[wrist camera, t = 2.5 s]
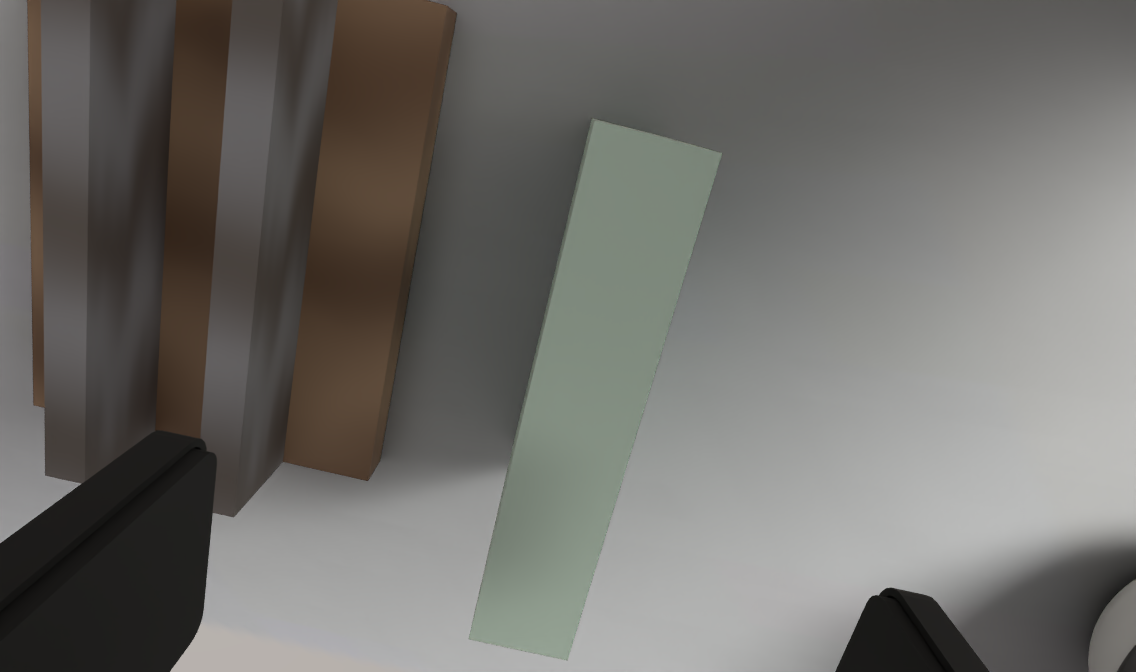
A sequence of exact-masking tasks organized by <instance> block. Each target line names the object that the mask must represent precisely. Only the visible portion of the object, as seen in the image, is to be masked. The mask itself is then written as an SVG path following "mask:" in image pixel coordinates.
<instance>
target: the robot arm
mask: <svg viewBox="0 0 1136 672" xmlns="http://www.w3.org/2000/svg"><path fill="white" fill-rule="evenodd" d="M216 470H217V457H216V455H215V454H214V453H213V452H208V451H207V447H206V444H205V442H204V441H203V440H202V439H200V438H195V437H191V436H186V435H181V434H177V433H172V432H167V431H163V430H156V431H154V432H152V433H151V434H149V435H148V436H146V437H145V438H144V439H142V440H141V441H140V442H138V443H137V444H136V445H134V446H133V447H131V448H130V449H129V450H127V451H126V452H125V453H123V454H122V455H120V456H119V457H118V458H116V459H115V460H114V461H112V462H111V463H110V464H108V465H107V466H105V467H104V468H103V469H101V470H100V471H99V472H97V473H96V474H94V475H93V476H92V477H90V478H89V479H88V480H86V481H85V482H84V483H82V484H81V485H79V486H78V487H77V488H75V489H74V490H73V491H71V492H70V493H68V494H67V495H66V496H64V497H63V498H62V499H60V500H59V501H58V502H56V503H55V504H53V505H52V506H51V507H49V508H48V509H47V510H45V511H44V512H42V513H41V514H40V515H38V516H37V517H36V518H34V519H33V520H32V521H30V522H29V523H27V524H26V525H25V526H23V527H22V528H21V529H19V530H18V531H17V532H15V533H14V534H12V535H11V536H10V537H8V538H7V539H6V540H4V541H3V542H1V543H0V672H170V671H171V669H172V668H173V666H174V665H175V664H176V662H177V661H178V660H179V658H180V657H181V655H182V654H183V653H184V651H185V650H186V649H187V647H188V646H189V645H190V643H191V642H192V640H193V639H194V637H195V635H196V633H197V631H198V628H199V626H200V623H201V620H202V616H203V610H204V599H205V588H206V578H207V567H208V556H209V545H210V535H211V524H212V513H213V502H214V491H215V481H216ZM835 672H989V670H988V669H987V668H986V667H985V665H984V664H983V663H982V661H981V660H980V659H979V657H978V656H977V655H976V653H975V652H974V651H973V649H972V648H971V647H970V645H969V644H968V643H967V642H966V640H965V639H964V638H963V636H962V635H961V634H960V632H959V631H958V630H957V628H956V627H955V626H954V624H953V623H952V622H951V620H950V619H949V618H948V617H947V615H946V614H945V613H944V611H943V610H942V609H941V607H940V606H939V605H938V603H937V602H936V601H935V600H934V599H933V598H932V597H929V596H927V595H923V594H918V593H913V592H909V591H904V590H899V589H895V588H887V589H885V590H883V591H882V592H881V593H880V595H879V596H878V595H875V596H872V597H871V598H870V599H869V600H868V602H867V603H866V606H865V608H864V610H863V612H862V614H861V617H860V619H859V621H858V623H857V625H856V628H855V630H854V632H853V634H852V636H851V639H850V641H849V643H848V645H847V647H846V650H845V652H844V654H843V656H842V658H841V660H840V663H839V665H838V667H837V669H836V671H835Z"/></svg>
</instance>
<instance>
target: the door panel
mask: <svg viewBox="0 0 1136 672" xmlns="http://www.w3.org/2000/svg"><path fill="white" fill-rule="evenodd" d="M721 156H722V153H720V152H717V151H713V150H710V149H706V148H702V147H699V146H695V145H692V144H688V143H685V142H681V141H678V140H674V139H671V138H667V137H664V136H660V135H656V134H652V133H648V132H644V131H640V130H636V129H632V128H629V127H625V126H621V125H617V124H613V123H609V122H605V121H601V120H597V119H593V118H592V120H591V124H590V128H589V132H588V136H587V140H586V144H585V149H584V153H583V157H582V161H581V165H580V169H579V173H578V178H577V182H576V186H575V190H574V194H573V198H572V202H571V207H570V211H569V215H568V219H567V223H566V227H565V231H564V236H563V240H562V244H561V248H560V252H559V256H558V260H557V265H556V269H555V273H554V277H553V281H552V285H551V289H550V294H549V298H548V302H547V306H546V310H545V314H544V318H543V323H542V327H541V331H540V335H539V339H538V343H537V347H536V352H535V356H534V360H533V364H532V368H531V372H530V376H529V381H528V385H527V389H526V393H525V397H524V401H523V405H522V410H521V414H520V418H519V422H518V426H517V430H516V435H515V439H514V443H513V447H512V452H511V456H510V460H509V465H508V469H507V473H506V478H505V482H504V487H503V491H502V495H501V500H500V504H499V508H498V513H497V517H496V522H495V526H494V530H493V535H492V539H491V544H490V548H489V552H488V557H487V561H486V565H485V570H484V574H483V579H482V583H481V587H480V592H479V596H478V600H477V605H476V609H475V614H474V618H473V622H472V627H471V631H470V636H469V639H470V640H474V641H479V642H484V643H488V644H493V645H498V646H502V647H507V648H512V649H516V650H521V651H525V652H530V653H535V654H539V655H544V656H549V657H553V658H558V659H563V660H568V657H569V654H570V650H571V647H572V644H573V640H574V637H575V634H576V631H577V627H578V624H579V621H580V618H581V614H582V611H583V608H584V604H585V601H586V598H587V595H588V591H589V588H590V585H591V582H592V578H593V575H594V572H595V569H596V565H597V562H598V559H599V555H600V552H601V549H602V546H603V542H604V539H605V536H606V533H607V529H608V526H609V523H610V519H611V516H612V513H613V510H614V506H615V503H616V500H617V497H618V493H619V490H620V487H621V483H622V480H623V477H624V474H625V470H626V467H627V464H628V461H629V457H630V454H631V451H632V447H633V444H634V441H635V438H636V434H637V431H638V428H639V425H640V421H641V418H642V415H643V412H644V408H645V405H646V402H647V398H648V395H649V392H650V389H651V385H652V382H653V379H654V376H655V372H656V369H657V366H658V362H659V359H660V356H661V353H662V349H663V346H664V343H665V340H666V336H667V333H668V330H669V326H670V323H671V320H672V317H673V313H674V310H675V307H676V304H677V300H678V297H679V294H680V290H681V287H682V284H683V281H684V277H685V274H686V271H687V268H688V264H689V261H690V258H691V255H692V251H693V248H694V245H695V241H696V238H697V235H698V232H699V228H700V225H701V222H702V219H703V215H704V212H705V209H706V205H707V202H708V199H709V196H710V192H711V189H712V186H713V183H714V179H715V176H716V173H717V169H718V166H719V163H720V160H721Z"/></svg>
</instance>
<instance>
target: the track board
mask: <svg viewBox="0 0 1136 672" xmlns="http://www.w3.org/2000/svg"><path fill="white" fill-rule="evenodd" d="M27 6H28V73H29V139H30V205H31V271H32V337H33V403H34V405H35V406H39V407H44V408H45V475H46V476H50V477H55V478H59V479H64V480H68V481H73V482H77V483H84V482H85V481H86V480H88V479H89V478H90V477H92V476H93V475H94V474H96V473H97V472H99V471H100V470H101V469H103V468H104V467H105V466H107V465H108V464H110V463H111V462H112V461H114V460H115V459H116V458H118V457H119V456H120V455H122V454H123V453H125V452H126V451H127V450H129V449H130V448H131V447H133V446H134V445H136V444H137V443H138V442H140V441H141V440H142V439H144V438H145V437H146V436H148V435H149V434H151V433H152V432H154V431H156V430H163V431H167V432H172V433H177V434H181V435H186V436H191V437H195V438H200V439H202V440H203V441H204V442H205V444H206V447H207V451H208V452H213V453H214V454H215V455H216V457H217V470H216V481H215V491H214V502H213V513H217V514H221V515H226V516H230V517H234V516H235V515H236V514H237V513H238V512H239V511H240V510H241V508H242V507H243V506H244V505H245V504H246V503H247V502H248V501H249V499H250V498H251V497H252V496H253V495H254V494H255V493H256V492H257V490H258V489H259V488H260V487H261V486H262V485H263V484H264V483H265V481H266V480H267V479H268V478H269V477H270V476H271V475H272V473H273V472H274V471H275V470H276V469H277V468H278V467H279V466H280V464H281V463H282V462H286V463H291V464H295V465H299V466H304V467H308V468H313V469H317V470H321V471H326V472H330V473H335V474H339V475H344V476H348V477H352V478H357V479H361V480H366V481H368V480H369V478H370V477H371V475H372V473H373V472H374V470H375V468H376V467H377V465H378V463H379V462H380V459H381V453H382V447H383V441H384V435H385V430H386V424H387V418H388V412H389V406H390V400H391V395H392V389H393V383H394V377H395V371H396V365H397V360H398V354H399V348H400V342H401V336H402V331H403V325H404V319H405V313H406V307H407V301H408V296H409V290H410V284H411V278H412V272H413V266H414V261H415V255H416V249H417V243H418V237H419V231H420V226H421V220H422V214H423V208H424V202H425V196H426V191H427V185H428V179H429V173H430V167H431V162H432V156H433V150H434V144H435V138H436V132H437V127H438V121H439V115H440V109H441V103H442V97H443V92H444V86H445V80H446V74H447V68H448V62H449V57H450V51H451V45H452V39H453V33H454V27H455V22H456V16H457V13H456V12H455V11H453V10H452V9H451V8H449V7H448V6H446V5H443V4H439V3H435V2H431V1H427V0H27Z"/></svg>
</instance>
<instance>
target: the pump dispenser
mask: <svg viewBox="0 0 1136 672" xmlns="http://www.w3.org/2000/svg"><path fill="white" fill-rule="evenodd" d="M1088 667H1089V672H1136V579H1135V580H1133V581H1132V582H1130V583H1129V584H1128V585H1126V586H1125V587H1124V588H1123V589H1122V590H1121V591H1119V592H1118V593H1117V594H1116V595H1115V596H1114V598H1113V599H1112V600H1111V601H1110V602H1109V603H1108V605H1107V606H1106V607H1105V609H1104V610H1103V612H1102V614H1101V615H1100V617H1099V619H1098V621H1097V623H1096V625H1095V628H1094V630H1093V634H1092V637H1091V641H1090V646H1089V656H1088Z"/></svg>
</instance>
